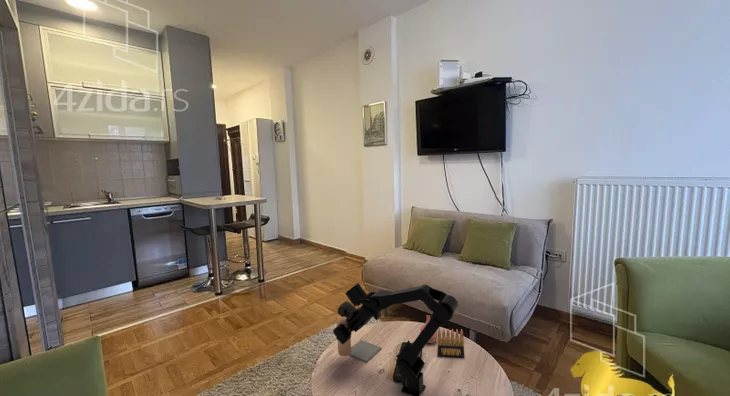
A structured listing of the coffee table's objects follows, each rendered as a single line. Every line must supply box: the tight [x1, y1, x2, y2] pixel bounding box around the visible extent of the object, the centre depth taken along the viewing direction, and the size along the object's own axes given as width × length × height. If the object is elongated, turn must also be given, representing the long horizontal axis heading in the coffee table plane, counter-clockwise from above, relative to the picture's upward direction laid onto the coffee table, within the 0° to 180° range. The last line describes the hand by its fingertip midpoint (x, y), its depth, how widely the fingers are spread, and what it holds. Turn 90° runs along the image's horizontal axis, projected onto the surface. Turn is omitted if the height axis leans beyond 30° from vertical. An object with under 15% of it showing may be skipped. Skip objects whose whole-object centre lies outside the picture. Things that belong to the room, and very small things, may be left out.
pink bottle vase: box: [419, 314, 438, 344], centre depth 134 cm, size 8×8×12 cm
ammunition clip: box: [436, 327, 466, 360], centre depth 123 cm, size 11×2×12 cm, turn 81°
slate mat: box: [348, 339, 382, 364], centre depth 129 cm, size 11×11×1 cm
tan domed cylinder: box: [336, 317, 352, 357], centre depth 120 cm, size 5×5×13 cm
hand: (341, 335), depth 120 cm, fingers closed on tan domed cylinder, 5 cm apart
